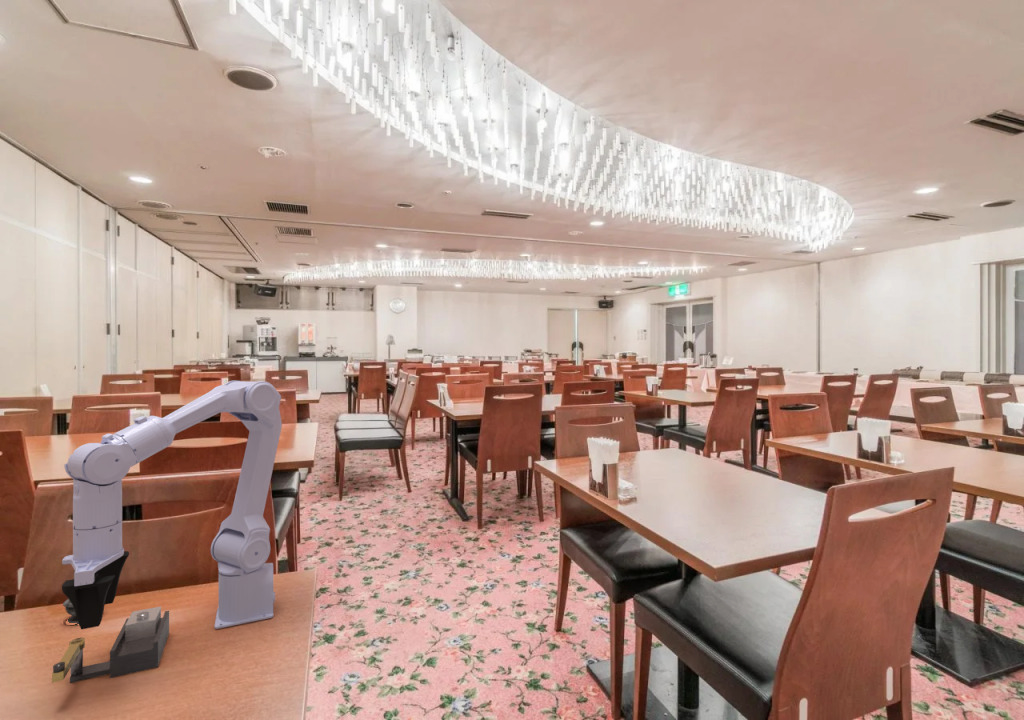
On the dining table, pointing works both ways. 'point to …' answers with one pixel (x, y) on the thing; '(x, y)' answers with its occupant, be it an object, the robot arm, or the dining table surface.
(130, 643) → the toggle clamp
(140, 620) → the knobbed drawer block
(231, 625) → the robot arm
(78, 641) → the lever
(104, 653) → the dining table surface
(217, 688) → the dining table surface
